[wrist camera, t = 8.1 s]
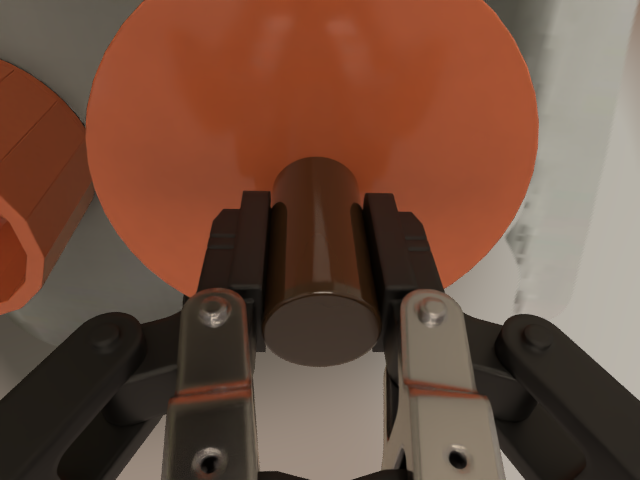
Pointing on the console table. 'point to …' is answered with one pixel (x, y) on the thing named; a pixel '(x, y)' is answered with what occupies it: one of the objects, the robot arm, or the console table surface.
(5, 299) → the pot
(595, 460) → the robot arm
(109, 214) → the lid
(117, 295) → the console table surface
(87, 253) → the console table surface
